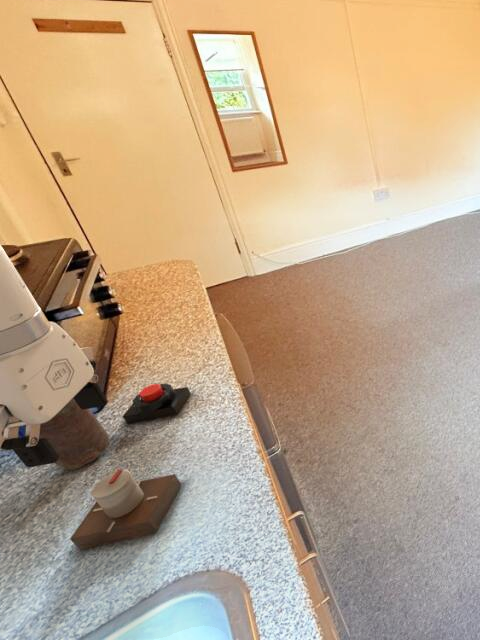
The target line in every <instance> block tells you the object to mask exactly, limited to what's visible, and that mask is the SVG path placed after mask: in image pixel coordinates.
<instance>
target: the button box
mask: <svg viewBox="0 0 480 640" xmlns="http://www.w3.org/2000/svg"><path fill="white" fill-rule="evenodd" d="M158 384H159V383H158ZM159 385H160V386H161V387H162V389H163V391H164V393H163V394H162V395H161V396H160V397H158V398H157V399H154V400H152V401H148V402H144V401H143V400H142V398H141V397H140V392H139V393H137V394H136V396H135V397H134V398H133V400H132V404H131V405H130V406H129V407H128V409H127V410H126V411H125V413H123V415H122V418H123V419H124V421H125V423H126V424H127V425H129V424H135V423H136V424H137V423H141V422H145V421H151V420H158V419H163V418H168V417H175V416H178V415H179V414H180V412H181V411H182V409H183V408H184V406H185V404H186V403H187V401H188V400H189V398H190V396H191V395H192V393H191V392H190V389H189V386H184V387H178V388H173V385H172V384H170V383H160V384H159Z"/></svg>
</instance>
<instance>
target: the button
mask: <svg viewBox="0 0 480 640" xmlns="http://www.w3.org/2000/svg"><path fill="white" fill-rule="evenodd" d="M139 393H140V397H141V398H142V400H143V401H144V402H148V401H152V400H154V399H157V398H158V397H160V396H161V395H162V394H163V393H164V391H163V389H162V387H161V386H160V385H159V383H154V384H150V385H148V386H146V387H144V388H143V389H141V390H140V392H139Z"/></svg>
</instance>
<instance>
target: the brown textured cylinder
mask: <svg viewBox="0 0 480 640" xmlns="http://www.w3.org/2000/svg"><path fill="white" fill-rule="evenodd" d="M39 438H46V439H47V440H48V442H49V443H50V444H51V446H52V447H53V448H54V450H55V451H56V452H57V454H58V455H59V459H58V460H57V462H56V463H54V464H55V465H56V466H57V467H58V468H59V469H63V470H66V471H75V470H77V469H80V468H82V467H84V466H85V465H87V464H89V463H91V462H93V461H95V460H96V459H97V458H98V457H99V456H100V454H101V453H103V451H104V450H105V449H106V448H108V447H109V444H110V443H111V437H110V435H109V433H108V432H107V430H106V429H105V427H104V426H103V425H102V424H101V422H100V421H99V420H98V418H97V417H96V415H95V414H94V412H93V411H92V410H91V408H90V409H80V407H79V406H78V404H77V403H76V401H75V400H74V398H72V399H71V400H70V401H69V402H68V403H67V404H66V405H65V406H64V407H63V408H62V409H61V410H60V411H59V412H58V413H57V414H56V415H55V416H54V417H53V418H52V419H50V420H49V421H47V422H45V423H41V424H40V433H39Z"/></svg>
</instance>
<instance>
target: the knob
mask: <svg viewBox="0 0 480 640" xmlns="http://www.w3.org/2000/svg"><path fill="white" fill-rule="evenodd" d="M137 482H138V481H136V479H135V478H134V477H133V475H132V474H131V472H130V471H129V470H124V469H121V468H120V469H117V471H115V472H113V473H110V474H108V475H107V476H105V477H104V478H102V479H101V480H99V482H97V483H96V485H95V486H94V487H93V488H92V491H91V496H92V497H93V499H94V500H95V502H96V501H97V503H98V504H99V505H100V506H101V508H102V509H103V510H104V512H105V513H106V514H107V516H108V517H110V518H117V517H121V516H123V515H125V514H127V513H129V512H130V511H132V510H133V509H135V508H136V507H137V506H138V505H139V504H140V502H141V501H142V499H143V497H144V493H143V491H142V490H141V488H140V487H139V485H138V484H137Z"/></svg>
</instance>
